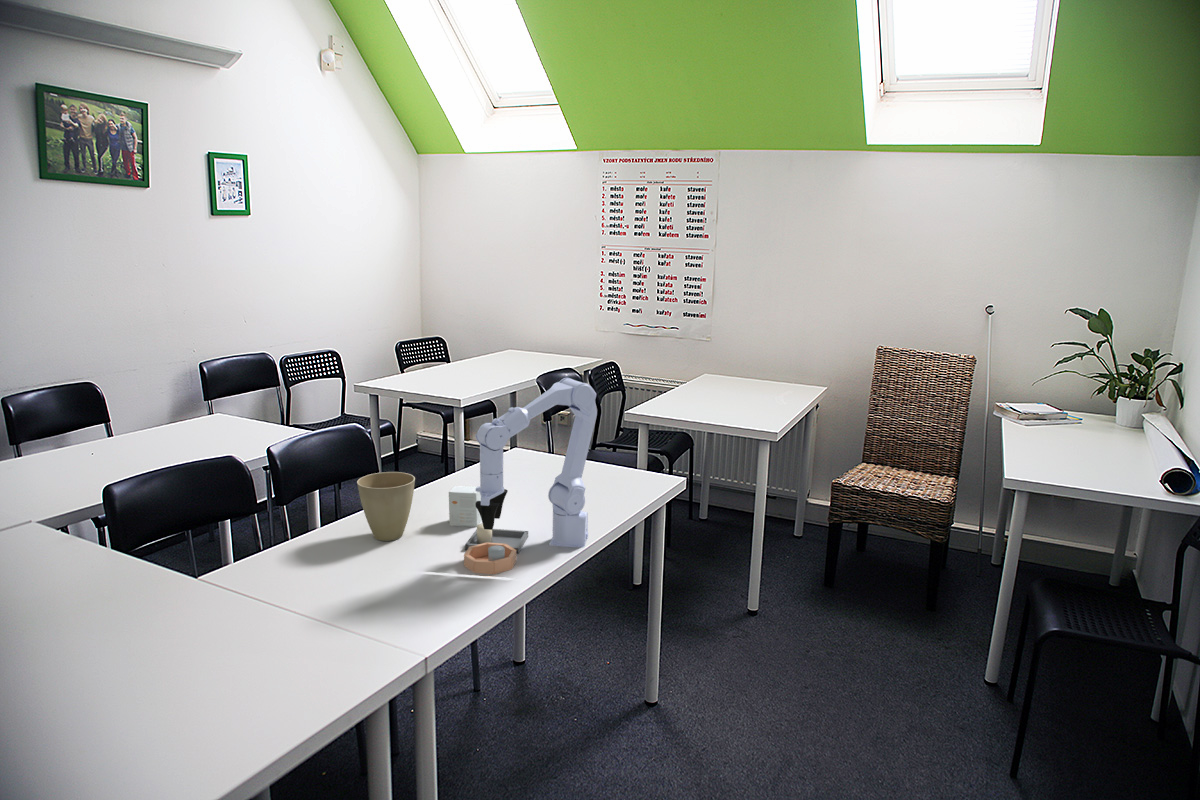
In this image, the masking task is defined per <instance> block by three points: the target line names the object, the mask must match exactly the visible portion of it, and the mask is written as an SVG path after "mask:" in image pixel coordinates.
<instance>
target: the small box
mask: <svg viewBox="0 0 1200 800" xmlns="http://www.w3.org/2000/svg"><path fill="white" fill-rule="evenodd" d="M476 487H477V486H467V485H466V486H464V485H454V486H453V487H452V488H451V489H450V490H449V491H448V510H449V511H448V512H449V513H448V514H449V515H448V516H449V520H448V521H449V526H452V527H453V526H455V527H456V526H457V527H472V528H477V525H479V524H481V523H482V519H481V516H480V513H479V511H478V509H477V508H476V505H475V503H476V502H477V501H481V495H480V492H477V491H476Z"/></svg>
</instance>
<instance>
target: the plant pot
mask: <svg viewBox="0 0 1200 800" xmlns="http://www.w3.org/2000/svg"><path fill="white" fill-rule="evenodd" d="M415 483H416V477H415V476H414V475H413V474H411V473H406V472H401V471H400V472H399V471H386V472H385V471H384V472H377V473H376V472H374V473H371V474H367V475H365V476H362V477H360V478H359V479H358V480H357V481H356V484H357V489H358V494H359V498H360V503H361V506H362V510H363V513H364V516H365V519H366V522H367V524H368V526H369V528H370V531H371V533H372V535H373V538H374V539H375V540H377V541H380V542H381V541H382V542H390V541H391V542H392V541H395V540H399V539H400V538H402V537H403V535H404V532H405V531H406V530H405V529H406V527H407V523H408V520H409V517H410V512H411V507H412V503H413V498H414V493H415V491H414V490H415Z"/></svg>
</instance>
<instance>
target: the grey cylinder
mask: <svg viewBox="0 0 1200 800" xmlns="http://www.w3.org/2000/svg"><path fill="white" fill-rule="evenodd" d="M503 558H505V548H504V547H503V546H499V545H495V546H491V547H489V548H488V561H495V560H499V559H503Z"/></svg>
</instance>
